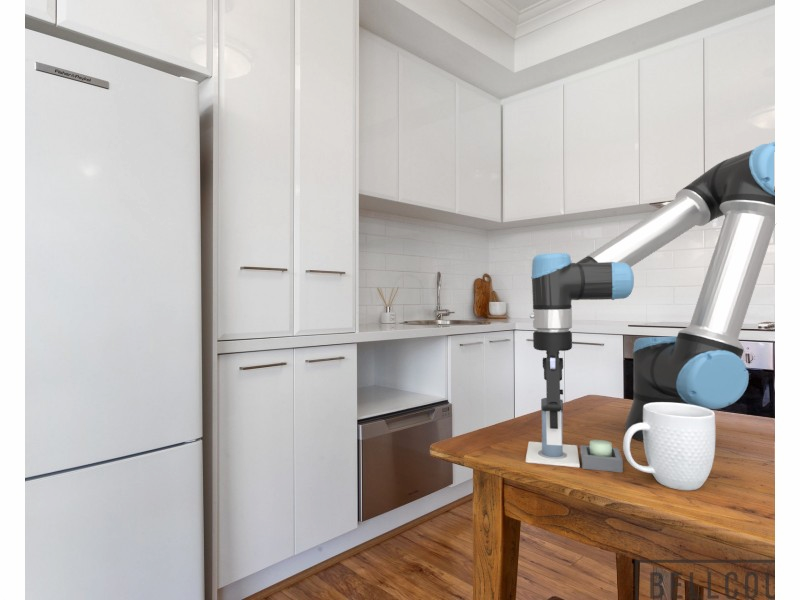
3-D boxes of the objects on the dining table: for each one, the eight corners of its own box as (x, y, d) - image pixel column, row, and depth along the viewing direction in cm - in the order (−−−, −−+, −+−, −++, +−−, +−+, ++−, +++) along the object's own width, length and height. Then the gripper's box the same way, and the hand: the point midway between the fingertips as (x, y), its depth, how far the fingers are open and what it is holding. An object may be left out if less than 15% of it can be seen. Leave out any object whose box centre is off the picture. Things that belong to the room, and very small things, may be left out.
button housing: (618, 460, 97) (618, 448, 97) (622, 472, 90) (622, 459, 90) (580, 456, 99) (580, 445, 99) (582, 468, 92) (582, 456, 92)
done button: (610, 453, 96) (610, 440, 96) (612, 460, 92) (612, 446, 92) (589, 451, 97) (588, 438, 97) (590, 458, 93) (590, 445, 93)
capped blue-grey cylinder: (541, 449, 101) (541, 397, 101) (562, 451, 100) (562, 398, 100) (541, 456, 97) (541, 401, 97) (563, 458, 96) (563, 402, 96)
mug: (639, 496, 80) (639, 417, 80) (610, 471, 91) (610, 402, 91) (730, 496, 80) (730, 416, 79) (690, 471, 91) (691, 401, 90)
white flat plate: (576, 448, 104) (576, 444, 104) (579, 467, 93) (579, 463, 93) (528, 444, 108) (528, 440, 108) (525, 462, 96) (525, 458, 96)
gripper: (535, 325, 111) (537, 417, 112) (530, 335, 88) (532, 452, 88) (570, 325, 109) (571, 419, 110) (574, 335, 85) (576, 455, 86)
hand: (554, 434), depth 99 cm, fingers open, 13 cm apart
